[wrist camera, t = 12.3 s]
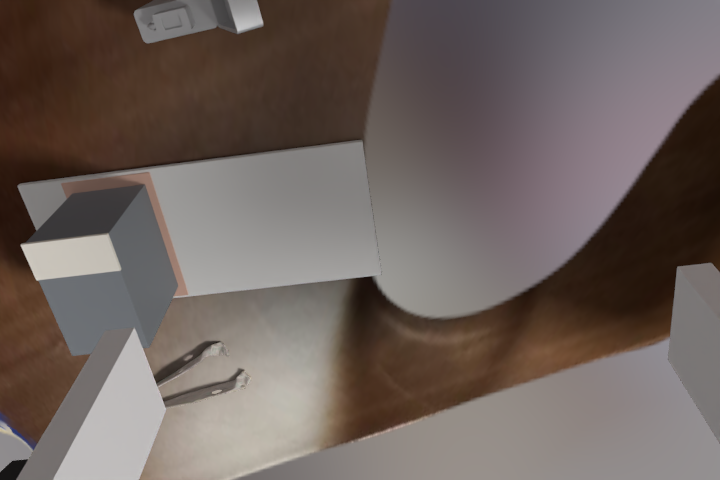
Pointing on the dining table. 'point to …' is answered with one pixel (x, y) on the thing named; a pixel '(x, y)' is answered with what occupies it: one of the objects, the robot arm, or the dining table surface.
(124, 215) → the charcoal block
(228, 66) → the dining table surface
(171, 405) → the tweezers
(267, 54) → the dining table surface
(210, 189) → the flat white strip
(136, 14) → the lighter
